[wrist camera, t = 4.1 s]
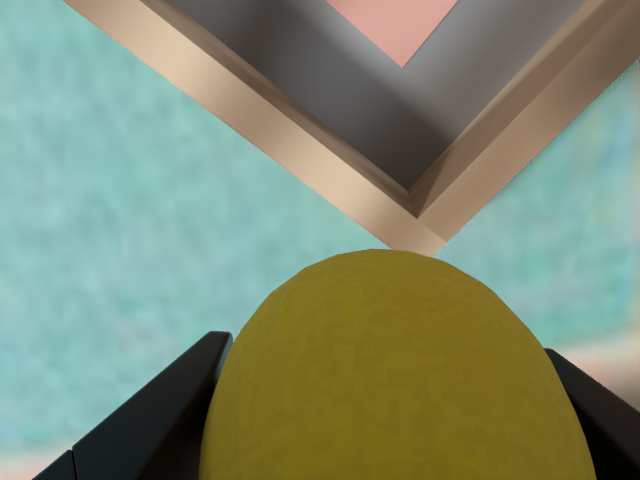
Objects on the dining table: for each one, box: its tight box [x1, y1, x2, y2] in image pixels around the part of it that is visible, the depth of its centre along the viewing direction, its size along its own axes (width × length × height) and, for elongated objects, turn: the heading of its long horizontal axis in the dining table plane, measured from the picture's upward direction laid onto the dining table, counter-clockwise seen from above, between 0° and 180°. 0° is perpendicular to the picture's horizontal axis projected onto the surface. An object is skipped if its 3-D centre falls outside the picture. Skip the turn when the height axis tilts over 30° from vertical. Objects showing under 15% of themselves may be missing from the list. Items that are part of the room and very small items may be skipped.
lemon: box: [198, 249, 597, 480], centre depth 8 cm, size 6×6×8 cm
